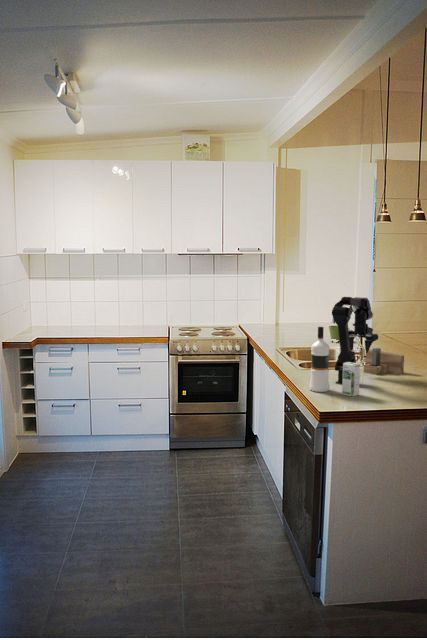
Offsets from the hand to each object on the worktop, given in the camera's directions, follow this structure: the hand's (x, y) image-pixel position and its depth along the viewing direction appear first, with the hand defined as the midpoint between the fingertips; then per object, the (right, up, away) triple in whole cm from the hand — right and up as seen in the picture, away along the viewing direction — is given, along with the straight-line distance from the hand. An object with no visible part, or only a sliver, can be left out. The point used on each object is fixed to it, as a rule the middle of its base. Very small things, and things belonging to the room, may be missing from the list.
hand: (359, 351), depth 279 cm
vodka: (-26, -17, -27) cm, 41 cm away
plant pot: (+13, 0, +108) cm, 109 cm away
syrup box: (-13, -18, -34) cm, 41 cm away
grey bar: (+12, -12, +11) cm, 20 cm away
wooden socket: (+13, -12, +12) cm, 21 cm away
